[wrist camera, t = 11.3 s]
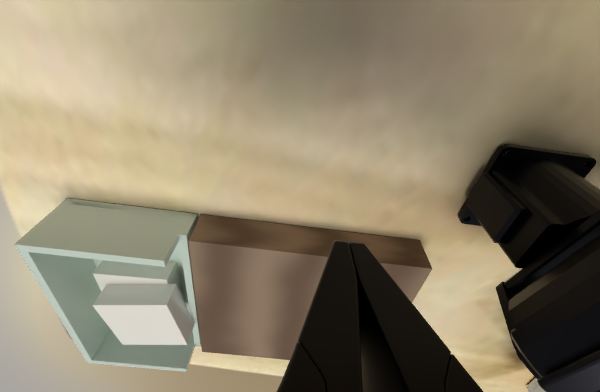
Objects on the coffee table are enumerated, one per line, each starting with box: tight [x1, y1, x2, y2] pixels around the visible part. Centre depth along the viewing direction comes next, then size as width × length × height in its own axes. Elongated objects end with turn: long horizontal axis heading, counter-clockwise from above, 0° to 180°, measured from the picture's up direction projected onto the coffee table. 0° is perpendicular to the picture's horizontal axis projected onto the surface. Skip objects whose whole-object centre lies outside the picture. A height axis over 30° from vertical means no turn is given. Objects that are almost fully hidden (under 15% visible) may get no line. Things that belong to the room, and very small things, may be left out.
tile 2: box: [92, 284, 194, 345], centre depth 25 cm, size 6×6×2 cm
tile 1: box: [93, 260, 185, 302], centre depth 26 cm, size 6×6×2 cm
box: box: [14, 198, 201, 372], centre depth 26 cm, size 10×16×5 cm, turn 172°
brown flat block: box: [188, 214, 432, 360], centre depth 27 cm, size 18×16×3 cm
